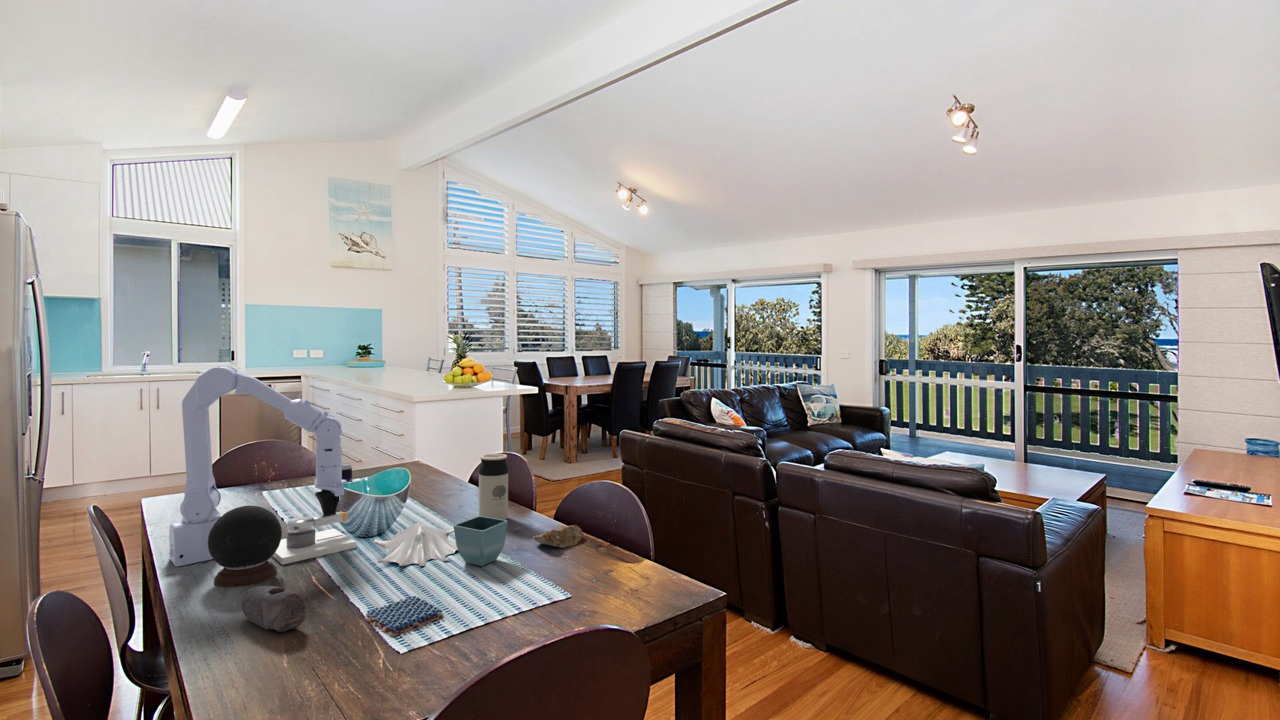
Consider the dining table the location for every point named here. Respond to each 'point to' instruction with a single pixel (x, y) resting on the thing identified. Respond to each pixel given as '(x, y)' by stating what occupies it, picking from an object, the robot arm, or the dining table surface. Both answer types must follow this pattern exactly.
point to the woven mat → (403, 615)
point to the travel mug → (493, 486)
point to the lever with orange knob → (313, 522)
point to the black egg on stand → (244, 546)
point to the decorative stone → (560, 537)
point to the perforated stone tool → (274, 607)
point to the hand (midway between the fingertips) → (329, 519)
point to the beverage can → (347, 472)
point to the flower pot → (480, 539)
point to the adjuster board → (311, 545)
